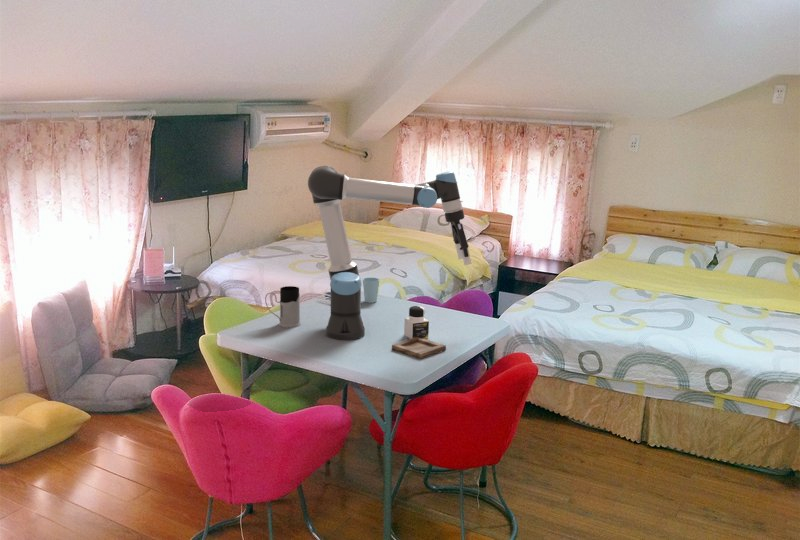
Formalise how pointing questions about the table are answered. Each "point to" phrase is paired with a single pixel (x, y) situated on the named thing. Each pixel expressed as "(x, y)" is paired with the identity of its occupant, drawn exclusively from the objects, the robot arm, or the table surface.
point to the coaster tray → (418, 347)
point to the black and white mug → (288, 306)
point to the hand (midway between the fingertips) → (465, 261)
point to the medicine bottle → (416, 323)
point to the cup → (370, 289)
